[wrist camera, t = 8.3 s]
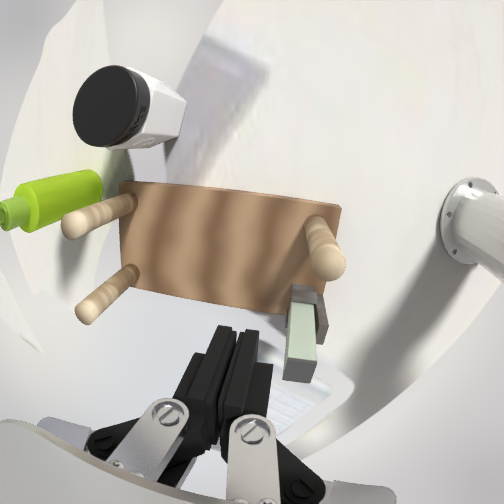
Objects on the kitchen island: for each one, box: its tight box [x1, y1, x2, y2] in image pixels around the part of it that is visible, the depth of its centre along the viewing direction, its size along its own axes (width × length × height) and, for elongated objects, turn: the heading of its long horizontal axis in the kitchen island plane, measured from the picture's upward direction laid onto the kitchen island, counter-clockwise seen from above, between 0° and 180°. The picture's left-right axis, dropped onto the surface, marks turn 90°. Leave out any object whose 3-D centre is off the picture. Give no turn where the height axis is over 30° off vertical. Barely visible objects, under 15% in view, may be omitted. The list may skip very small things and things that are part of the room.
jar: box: [73, 65, 187, 150], centre depth 26 cm, size 9×8×12 cm
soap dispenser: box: [0, 170, 103, 233], centre depth 26 cm, size 6×7×20 cm
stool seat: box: [61, 181, 346, 345], centre depth 30 cm, size 28×15×14 cm, turn 84°
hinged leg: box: [282, 301, 317, 383], centre depth 29 cm, size 12×3×3 cm
